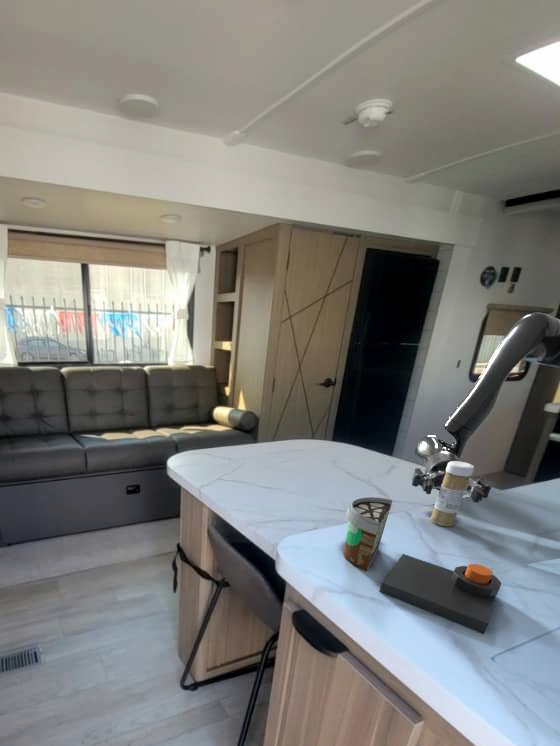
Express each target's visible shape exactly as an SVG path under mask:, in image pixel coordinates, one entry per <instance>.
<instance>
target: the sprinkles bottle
mask: <svg viewBox="0 0 560 746" xmlns="http://www.w3.org/2000/svg"><path fill="white" fill-rule="evenodd" d="M474 470H475V466H474V465H473V464H471V463H468V462H465V461H461V462H459V461H451V462H449V463H448V465H447V468H446V474H445V477H444V480H443V483H442V485H441V488H440V491H439V490H438V493H437V497H436V500H435V503H434V507H433V510H432V513H431V516H430V517H429V520H430V522H431V523H433V524H435V525H437V526H441V527H453V526H454V525H455V520H456V517H457V514H458V511H459V509H460V507H461V504H462V501H463V498H464V493H465V490H466V487H467V484H468V481H469V478H470V479H471V477H472V475H473V473H474Z"/></svg>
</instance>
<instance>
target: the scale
mask: <svg viewBox="0 0 560 746" xmlns="http://www.w3.org/2000/svg"><path fill="white" fill-rule="evenodd" d="M467 567H468V565H461V566H455V568H454V570H452V569H449V568H445V567H442V566H441V565H437V564H434V563H432V562H428V561H425V560H422V559H420V558H416V557H414V556H411V555H408V554H404V553H402V555H401V556H400V557H399V559H398V560H397V561H396V563H395V564H394V565H393V567H392V568H391V570H390V571H389V572H388V573H387V575H386V577H384V579H383V581H382V582H381V584H380V588H379V591H378V592H379V593H381V594H383V595H386V596H388V597H391V598H393V599H395V600H398V601H401V602H403V603H405V604H408V605H411V606H413V607H415V608H418V609H421V610H423V611H426V612H428V613H431V614H433V615H436V616H437V617H440V618H443V619H446V620H447V621H449V622H452V623H454V624H457V625H460V626H463V627H465V628H467V629H470V630H472V631H475V632H477V633H480V634H482V635H485V632H486V631H487V628H488V626H489V623H490V619H491V616H492V612H493V608H494V604H495V601H496V596H497V595H498V593H499V591H500V589H501V586H502V581H501V580H500V579H499V578H498V577H497V576H496V575H494V574H492V576H491V579H490V581H489V583H488V584H480V583H477V582H474V581H471V580H470V579H468V578H466V577H465V572H466V570H467Z"/></svg>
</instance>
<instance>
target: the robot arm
mask: <svg viewBox="0 0 560 746" xmlns="http://www.w3.org/2000/svg"><path fill="white" fill-rule="evenodd" d="M521 361H526V362H528V363H531V364H535V365H536V364H537V365H543V366H549V367H555V368H560V318H557V317H554V316H551V315H550V314H547V313H544V312H540V311H539V312H538V311H537V312H531V313H528V314H527V315H524V316H522V317H521V318H520V319H518V320H516V322H515V323H514V324H513V325H512V326H511V327H510V329H508V331H507V333H506V334H505V336H504V337H503V338H502V340H501V341H500V344H499V345H498V346H497V348H496V350H495V351H494V353H493V354H492V356H491V358H490V359H489V361H488V362H487V364H486V366H485V367H484V369H483V371H482V372H481V374H480V375H479V377H478V379H476V382H475V384H474V385H473V387H472V388H471V390H470V391H469V392H468V393H467V395H466V396H465V398H464V399H463V400H462V401H461V403H460V404H458V406H457V407H456V409H454V411H453V412H452V413H451V415H450V416H449V417H448V418H447V419H446V420H445V422H444V424H443V429H444V430H445V431H446V432H447V433H448V434H449V435H450V436H452V438H454V442H453V443H450V442H449V441H446V440H444V439H442V438H441V437H438V436H436V435H427V436H425V437H423V438H422V439H420V441H418V443H417V444H416V446H415V450H414V454H415V457H416V459H417V460H418V461H419V462H420V463H421V464H422V465H423V466H424V467H425V468H424V471H423V470H422V469H421V468H418V467H417V468H415V469H414V472H413V475H412V478H411V486H412V487H415V488H416V487H419V486H420V488H421V489H422V491H423V492H425V494H426V495H431V493H432V490H436V491H438V492H439V491H440V488H441V485H442V483H443V480H444V477H445V474H446V468H447V465H448V463H449V462H451V461H459V462H462V461H461V459H460V458H461V456H462V454H463V452H464V450H465V447H466V446H467V444H468V442H469V441H470V440H471V437H472V436H473V435H474V434H475V432H477V431H478V430H479V428H480V427H481V426H482V425H483V424H484V423H485V422H486V421H487V420H488V418H489V417H490V415H492V413H493V411H494V409H495V407H496V406H497V403H498V401H499V397H500V394H501V391H502V388H503V386H504V383H505V381H506V380H507V378H508V376H509V375H510V373H511V372H512V371H513V370H514V369H515V367H517V365H519V363H520V362H521ZM472 488H473V489H472ZM491 490H492V486H491V484H490V483H489V482H488V480H487V479H485V478H484V477H479V478H478V479H477V480H474V479H472V478H471V477H470V478H469V481H468V484H467V487H466V490H465V493H464V495H465V496H467V495H468V496H470V498H471V500H472V501H473V503H479V502H481V501H482V500H483V499H488V497H489V494H490V492H491ZM464 495H463V496H464Z"/></svg>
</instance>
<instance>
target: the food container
mask: <svg viewBox="0 0 560 746" xmlns="http://www.w3.org/2000/svg"><path fill="white" fill-rule="evenodd" d="M392 503H393V499H390V498H385V497H384V498H383V497H374V496H373V497H371V496H370V497H369V496H368V497H360V498H357V499H355V500H353V501H352V503H351V504H349V506H348V509H347V510H346V512H345V517H346V519H347V521H348V522H347V528H346V529H347V530H346V535H345V543H344V550H343V557H344V559H345V560H346V561H347V562H348V563H349V564H350V565H352V566H354V567H355V568H357V569H360V570H361V571H364V572H368V570H369V568H370V566H371V564H372V562H373V560H374V558H375V556H376V555H377V552H378V551H379V547H380V544H381V540H382V537H383V534H384V532H385V531H384V530H385V527H386V524H387V520H388V517H389V514H390V510H391V508H392V505H393V504H392Z"/></svg>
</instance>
